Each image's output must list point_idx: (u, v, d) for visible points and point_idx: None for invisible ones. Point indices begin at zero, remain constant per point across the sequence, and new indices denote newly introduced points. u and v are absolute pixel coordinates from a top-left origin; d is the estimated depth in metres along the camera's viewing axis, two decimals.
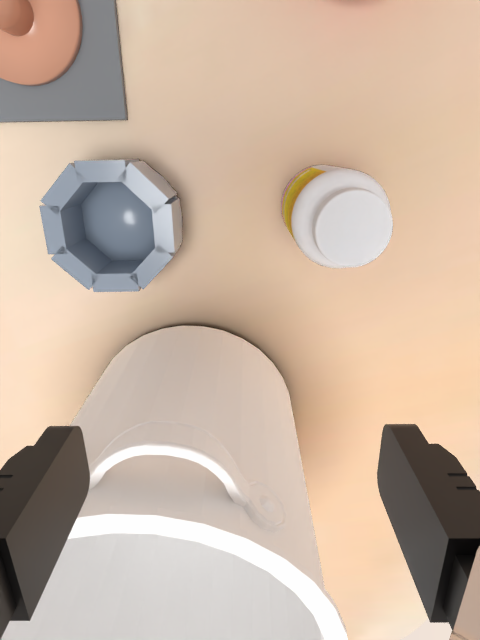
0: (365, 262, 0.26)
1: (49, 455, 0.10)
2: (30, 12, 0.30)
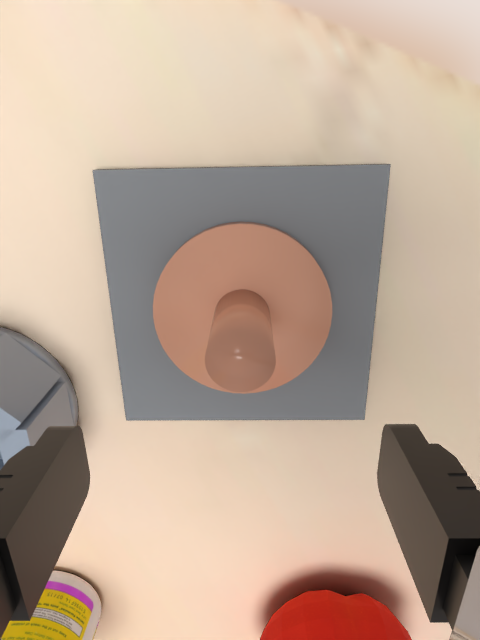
0: None
1: (49, 455, 0.10)
2: None
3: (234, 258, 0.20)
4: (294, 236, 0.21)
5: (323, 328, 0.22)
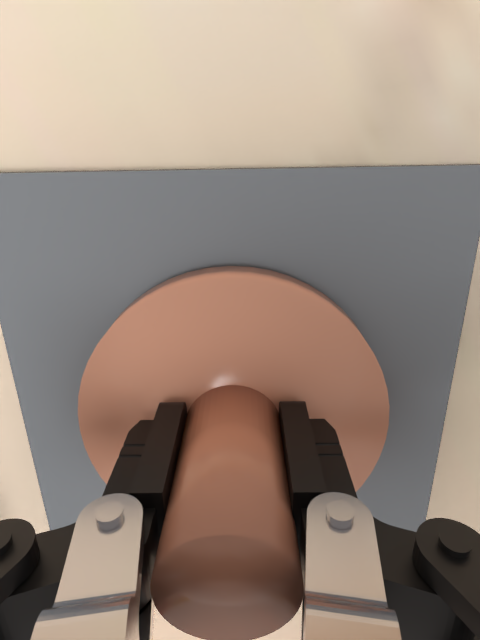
0: None
1: (171, 426, 0.11)
2: None
3: (218, 333, 0.11)
4: (319, 286, 0.12)
5: (372, 445, 0.13)
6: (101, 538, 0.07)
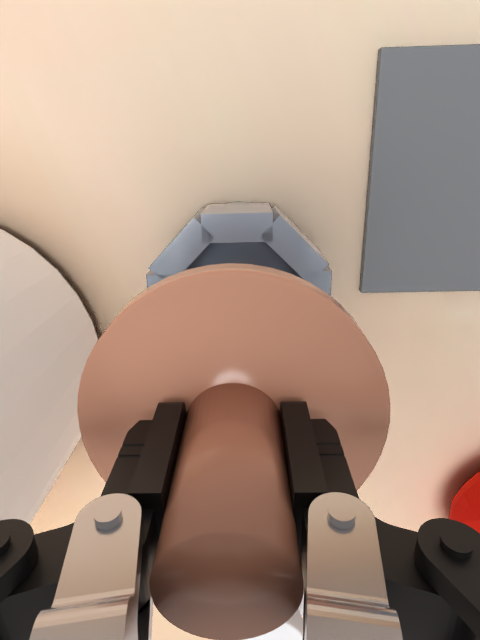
0: None
1: (170, 426, 0.11)
2: None
3: (218, 331, 0.11)
4: None
5: (373, 444, 0.13)
6: (100, 538, 0.07)
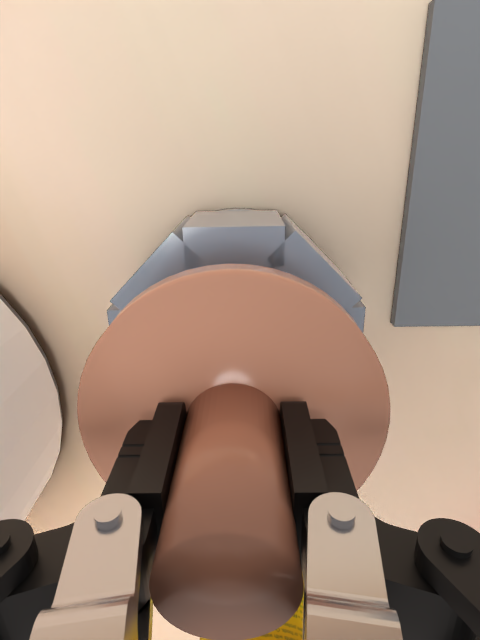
0: None
1: (170, 426, 0.11)
2: None
3: (218, 332, 0.11)
4: None
5: (373, 444, 0.13)
6: (100, 538, 0.07)
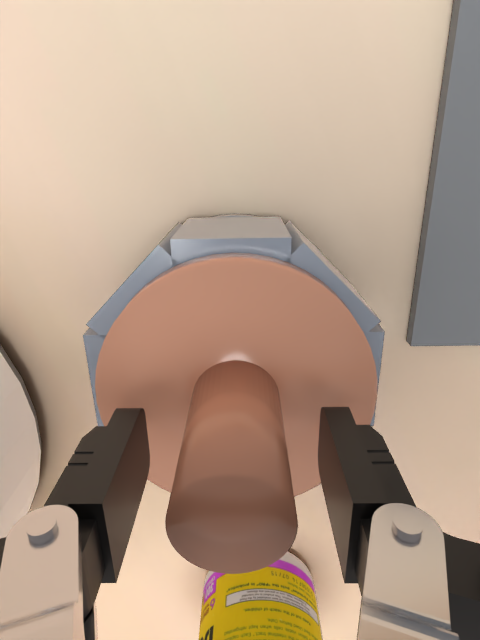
0: None
1: (123, 433, 0.10)
2: None
3: (222, 313, 0.13)
4: None
5: (362, 416, 0.14)
6: (30, 552, 0.07)
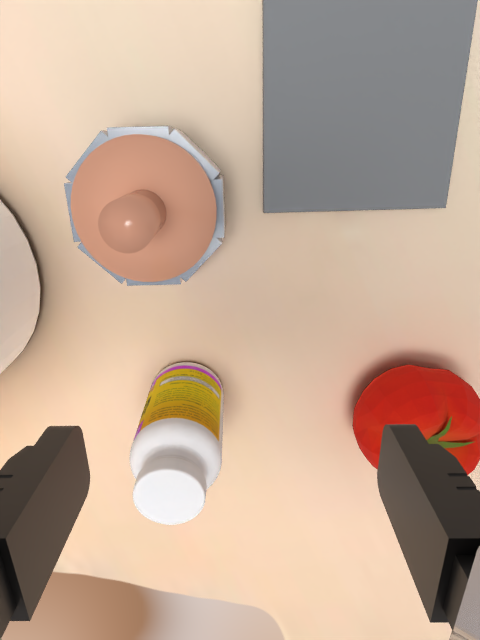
0: (139, 509, 0.28)
1: (49, 455, 0.10)
2: None
3: (133, 162, 0.26)
4: (406, 46, 0.29)
5: (210, 222, 0.27)
6: None
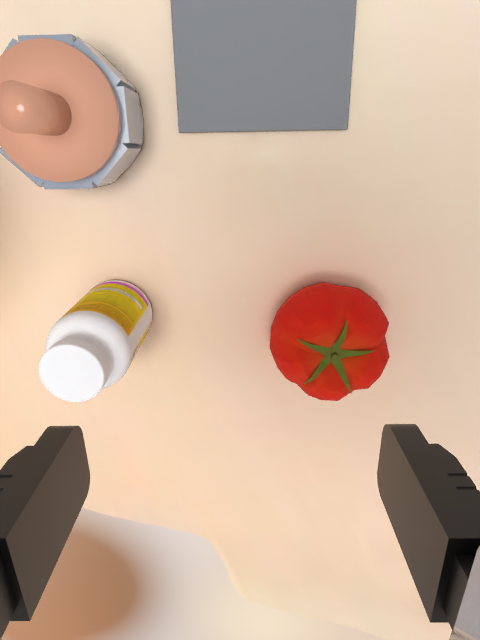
0: (45, 385, 0.31)
1: (49, 455, 0.10)
2: (51, 135, 0.30)
3: (38, 65, 0.29)
4: None
5: (111, 124, 0.30)
6: None
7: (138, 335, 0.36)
